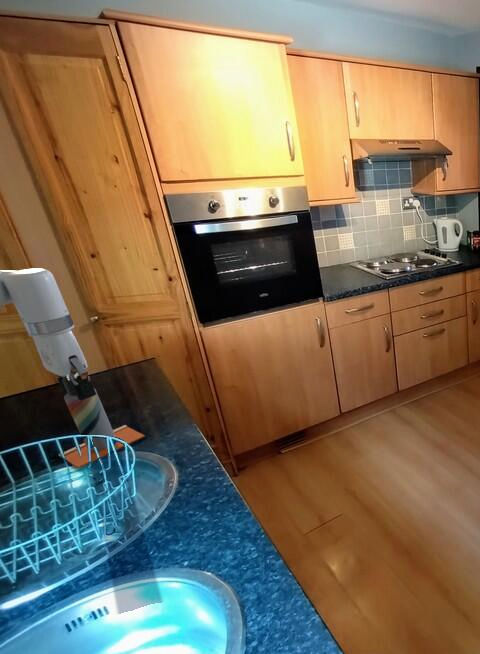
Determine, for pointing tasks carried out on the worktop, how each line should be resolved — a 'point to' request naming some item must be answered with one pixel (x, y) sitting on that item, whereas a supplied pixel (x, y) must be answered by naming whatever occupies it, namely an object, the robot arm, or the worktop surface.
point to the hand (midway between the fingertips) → (80, 393)
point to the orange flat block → (121, 432)
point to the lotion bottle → (88, 415)
